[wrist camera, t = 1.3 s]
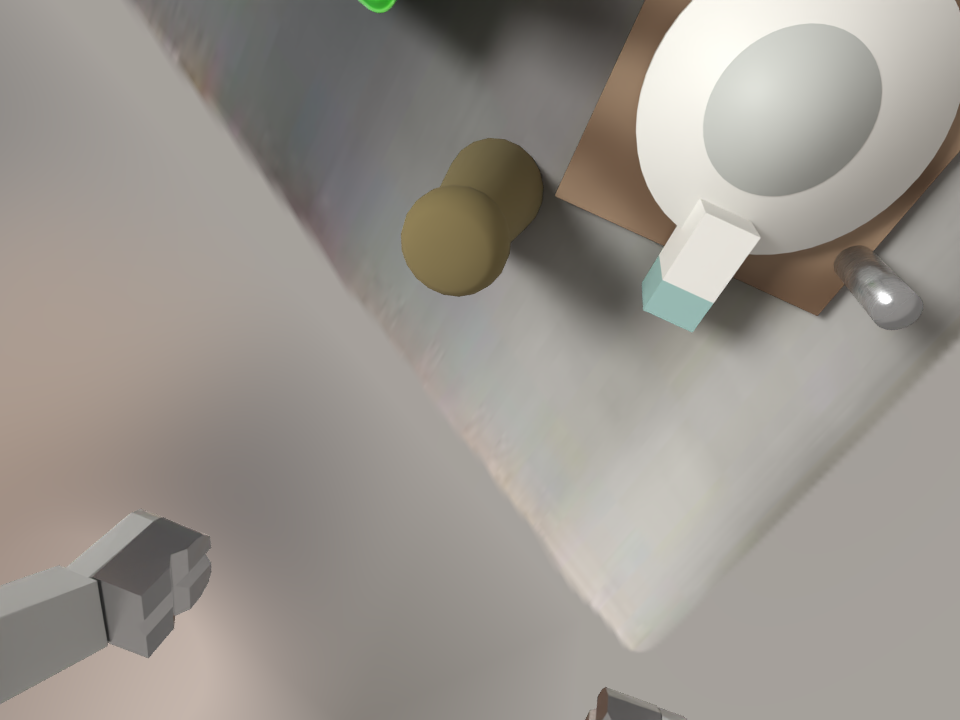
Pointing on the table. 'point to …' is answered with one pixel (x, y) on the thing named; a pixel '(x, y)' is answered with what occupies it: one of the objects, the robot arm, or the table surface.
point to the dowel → (878, 288)
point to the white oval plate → (785, 129)
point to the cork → (472, 218)
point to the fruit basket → (378, 5)
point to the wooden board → (629, 203)
